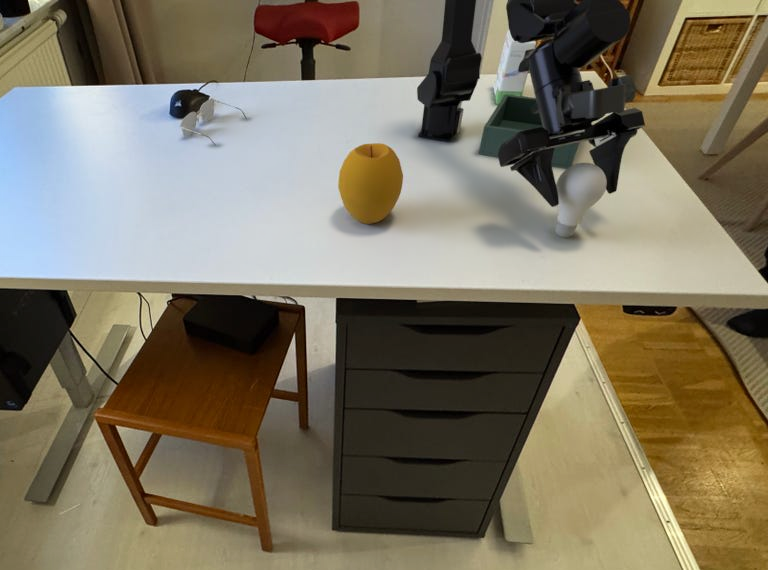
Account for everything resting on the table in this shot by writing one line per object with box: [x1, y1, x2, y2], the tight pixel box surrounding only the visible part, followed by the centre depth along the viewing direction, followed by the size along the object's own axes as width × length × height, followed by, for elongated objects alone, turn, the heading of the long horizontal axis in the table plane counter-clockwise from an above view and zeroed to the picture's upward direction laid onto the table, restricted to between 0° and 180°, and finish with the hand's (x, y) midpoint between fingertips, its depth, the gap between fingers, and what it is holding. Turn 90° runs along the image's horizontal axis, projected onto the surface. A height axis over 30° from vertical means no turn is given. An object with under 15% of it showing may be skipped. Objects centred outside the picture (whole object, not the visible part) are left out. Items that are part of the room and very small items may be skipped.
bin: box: [478, 94, 581, 169], centre depth 98 cm, size 16×16×5 cm
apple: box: [337, 142, 404, 225], centre depth 82 cm, size 10×10×12 cm
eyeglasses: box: [179, 98, 248, 146], centre depth 111 cm, size 14×8×4 cm, turn 155°
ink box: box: [493, 29, 537, 105], centre depth 111 cm, size 9×5×12 cm, turn 168°
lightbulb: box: [555, 162, 607, 238], centre depth 75 cm, size 6×6×11 cm
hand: (584, 199), depth 74 cm, fingers open, 9 cm apart
